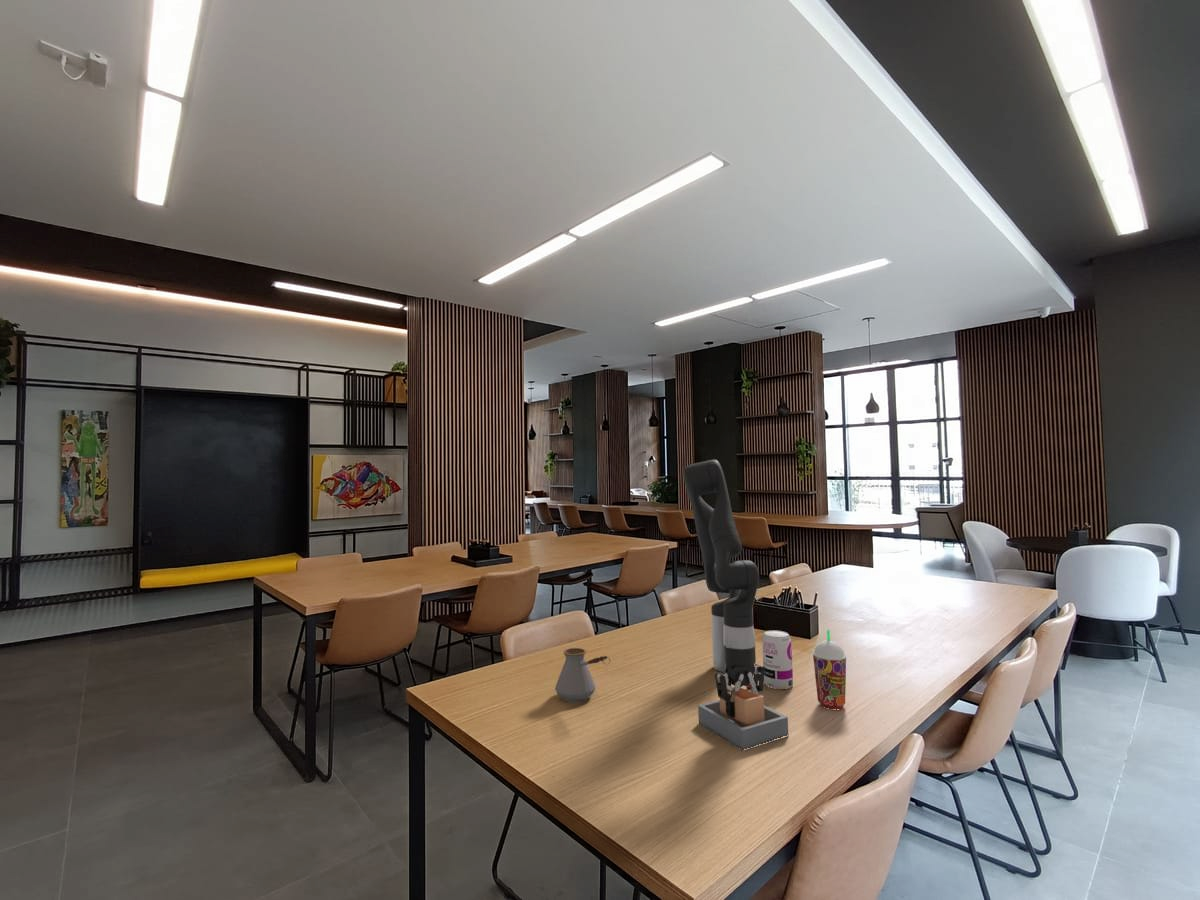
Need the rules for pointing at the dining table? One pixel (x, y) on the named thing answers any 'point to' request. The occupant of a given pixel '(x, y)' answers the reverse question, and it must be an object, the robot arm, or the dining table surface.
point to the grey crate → (738, 734)
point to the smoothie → (830, 673)
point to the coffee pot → (576, 676)
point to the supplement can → (777, 659)
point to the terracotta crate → (746, 707)
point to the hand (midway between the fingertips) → (741, 713)
